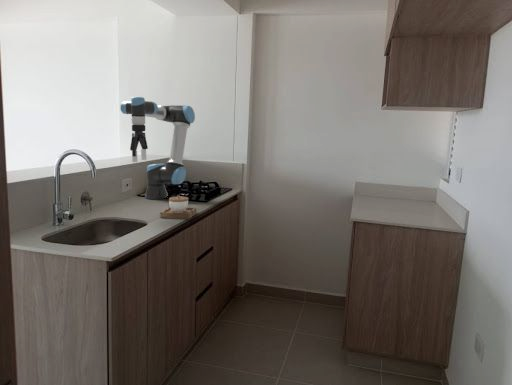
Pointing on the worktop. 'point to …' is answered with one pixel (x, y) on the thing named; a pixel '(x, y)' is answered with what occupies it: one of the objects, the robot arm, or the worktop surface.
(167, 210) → the wooden tray
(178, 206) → the lidded jar
